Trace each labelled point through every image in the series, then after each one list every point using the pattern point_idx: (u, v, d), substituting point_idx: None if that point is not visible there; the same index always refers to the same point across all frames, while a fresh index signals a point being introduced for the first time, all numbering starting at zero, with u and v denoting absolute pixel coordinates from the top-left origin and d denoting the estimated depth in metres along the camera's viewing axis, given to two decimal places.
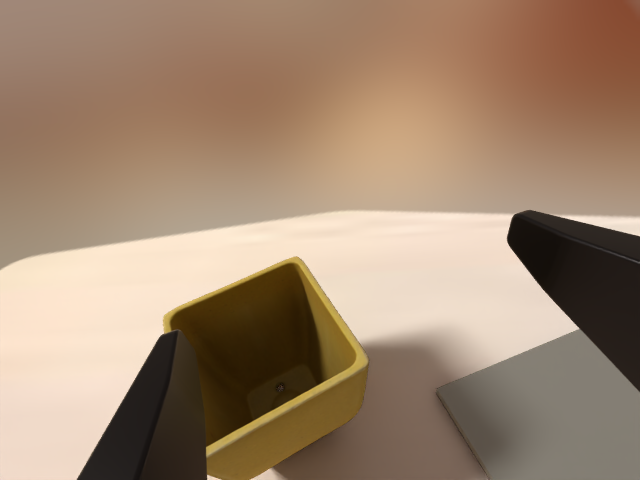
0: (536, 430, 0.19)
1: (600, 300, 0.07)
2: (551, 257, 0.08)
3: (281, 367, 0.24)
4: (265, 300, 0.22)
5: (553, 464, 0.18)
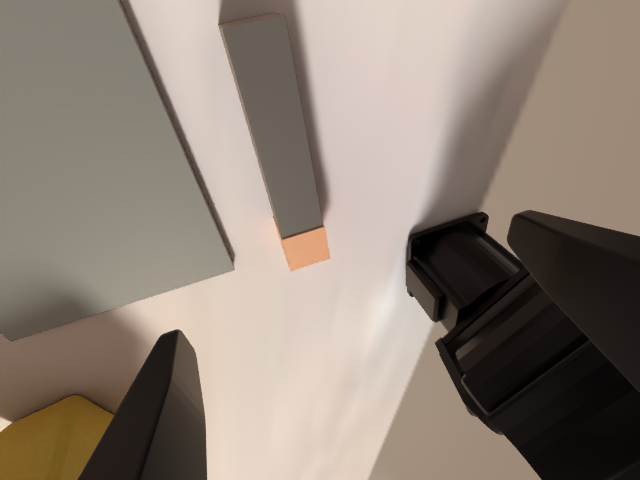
0: (45, 272, 0.17)
1: (600, 300, 0.07)
2: (551, 257, 0.08)
3: None
4: None
5: (83, 268, 0.18)
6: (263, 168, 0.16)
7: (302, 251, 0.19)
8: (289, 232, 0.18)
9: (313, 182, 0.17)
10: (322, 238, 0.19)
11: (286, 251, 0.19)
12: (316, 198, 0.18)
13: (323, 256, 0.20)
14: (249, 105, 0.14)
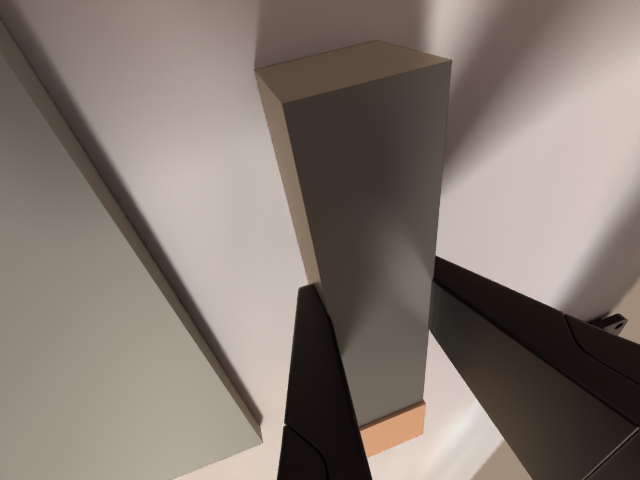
0: None
1: (470, 352, 0.07)
2: (431, 301, 0.08)
3: None
4: None
5: None
6: None
7: (383, 437, 0.11)
8: (367, 420, 0.10)
9: (423, 353, 0.09)
10: (418, 416, 0.11)
11: None
12: (422, 372, 0.10)
13: (414, 433, 0.12)
14: (328, 260, 0.06)
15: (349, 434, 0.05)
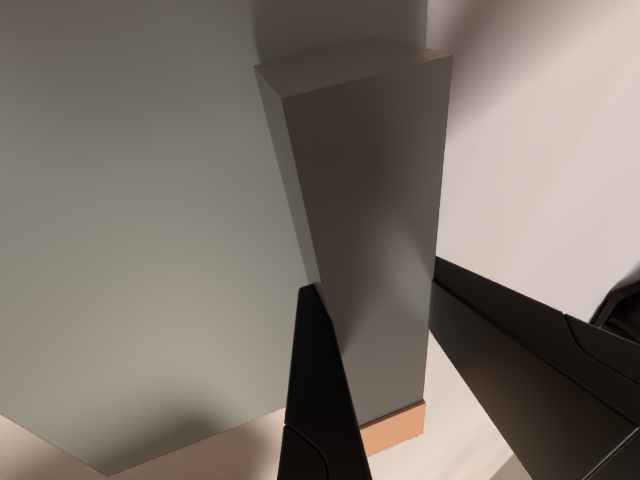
0: (175, 389, 0.11)
1: (470, 352, 0.07)
2: (431, 301, 0.08)
3: None
4: None
5: (227, 379, 0.12)
6: None
7: (383, 437, 0.11)
8: (367, 420, 0.10)
9: (423, 352, 0.09)
10: (418, 416, 0.11)
11: None
12: (422, 371, 0.10)
13: (413, 433, 0.12)
14: (327, 257, 0.06)
15: (349, 434, 0.05)
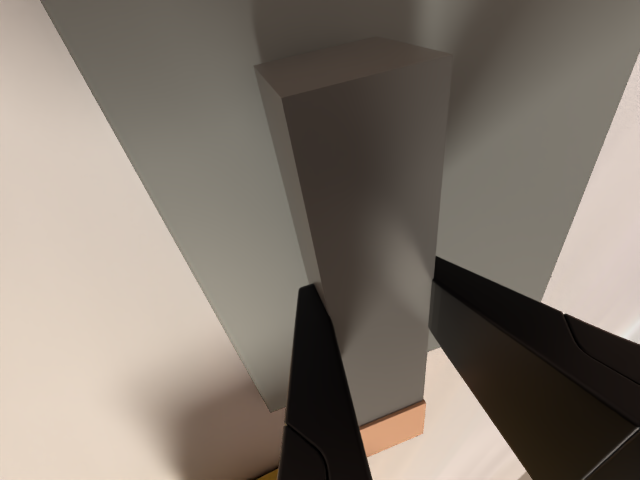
0: None
1: (470, 352, 0.07)
2: (431, 301, 0.08)
3: None
4: None
5: None
6: None
7: (383, 437, 0.11)
8: (367, 420, 0.10)
9: (423, 352, 0.09)
10: (418, 415, 0.11)
11: None
12: (422, 371, 0.10)
13: (414, 433, 0.12)
14: (327, 257, 0.06)
15: (349, 434, 0.05)
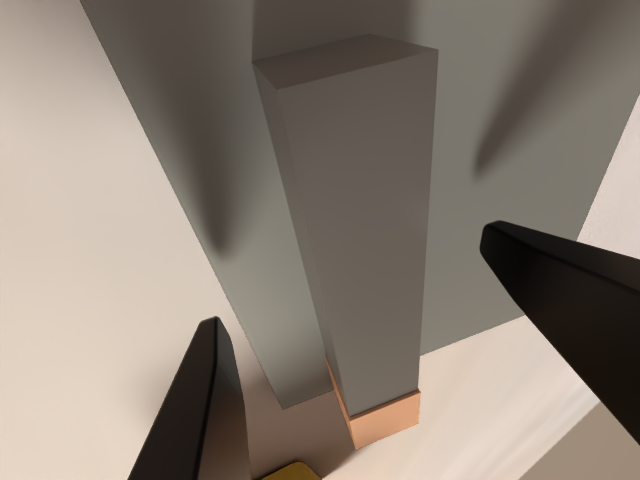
0: None
1: (566, 314, 0.07)
2: (519, 269, 0.08)
3: None
4: None
5: None
6: (334, 338, 0.08)
7: (378, 426, 0.11)
8: (362, 408, 0.11)
9: (417, 341, 0.09)
10: (413, 405, 0.11)
11: (354, 431, 0.11)
12: (416, 360, 0.10)
13: (409, 423, 0.12)
14: (322, 244, 0.06)
15: None
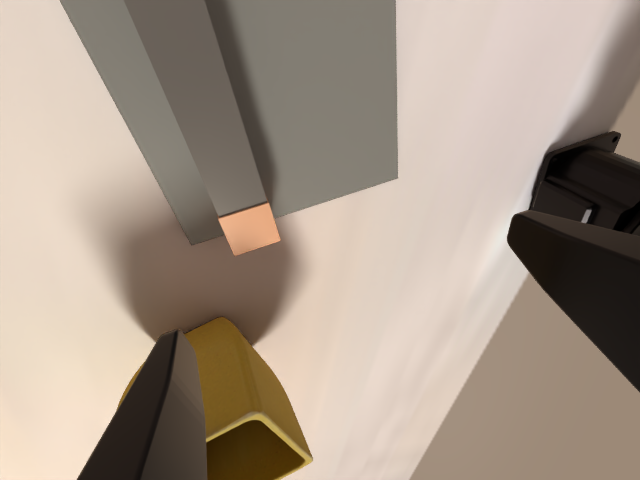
0: None
1: (600, 300, 0.07)
2: (551, 257, 0.08)
3: None
4: None
5: (274, 163, 0.18)
6: (181, 129, 0.13)
7: (245, 233, 0.17)
8: (226, 209, 0.16)
9: (248, 148, 0.14)
10: (268, 217, 0.17)
11: (225, 232, 0.16)
12: (254, 168, 0.15)
13: (272, 237, 0.17)
14: (150, 45, 0.11)
15: None
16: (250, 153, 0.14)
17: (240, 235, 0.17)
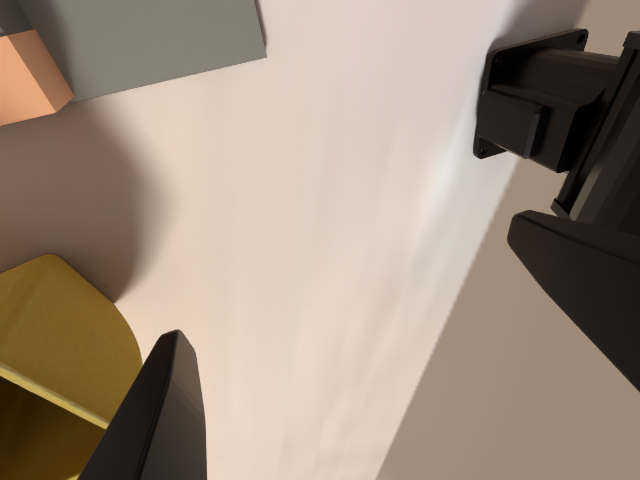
0: None
1: (600, 300, 0.07)
2: (551, 257, 0.08)
3: None
4: None
5: (52, 1, 0.12)
6: None
7: None
8: None
9: None
10: (15, 63, 0.11)
11: None
12: None
13: (39, 105, 0.12)
14: None
15: None
16: None
17: None
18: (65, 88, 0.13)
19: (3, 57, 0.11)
